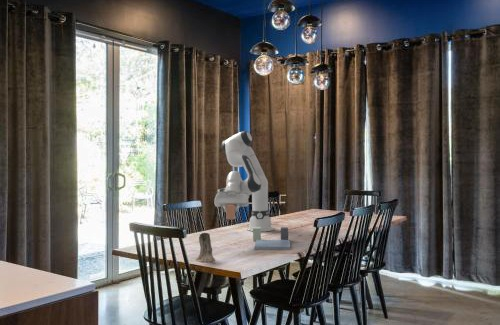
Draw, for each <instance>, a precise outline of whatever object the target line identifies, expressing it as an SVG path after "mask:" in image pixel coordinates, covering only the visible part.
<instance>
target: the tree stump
mask: <svg viewBox="0 0 500 325" xmlns="http://www.w3.org/2000/svg"><path fill="white" fill-rule="evenodd" d="M198 238H199V239H198V241H199V242H198V243H199V245H200V246H199V247H200V251H199V255H198V256H197V257H196V259H195V261H196V263H197V262H199V263H201V262H205V263H210V262H214V261H216V258H214V256H213V248H212V247H213V246H212V240H211V235H210V233H207V232H202V233H200V234H199V237H198Z"/></svg>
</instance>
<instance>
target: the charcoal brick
mask: <svg viewBox="0 0 500 325" xmlns="http://www.w3.org/2000/svg"><path fill="white" fill-rule="evenodd" d="M280 240H289V226H281V227H280Z"/></svg>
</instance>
